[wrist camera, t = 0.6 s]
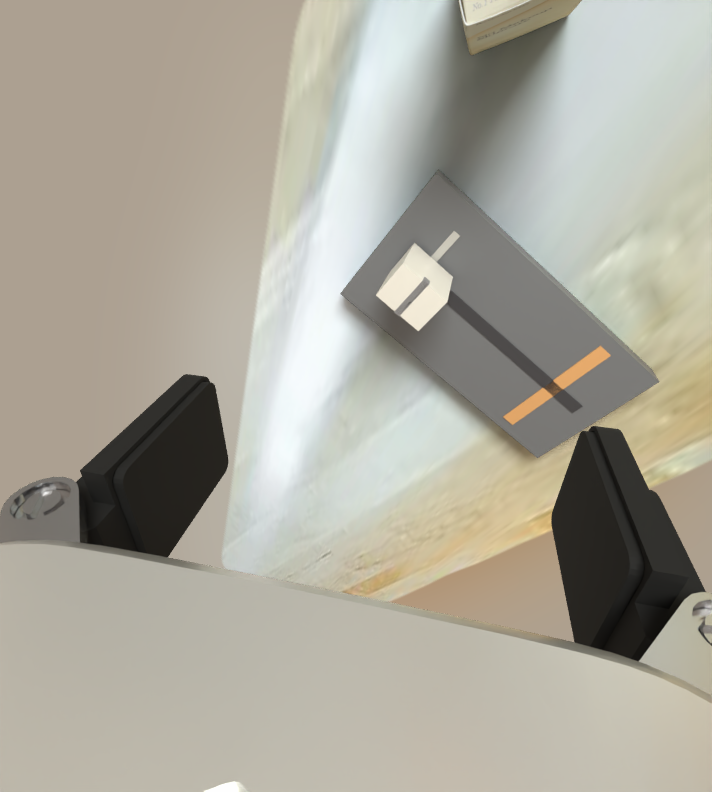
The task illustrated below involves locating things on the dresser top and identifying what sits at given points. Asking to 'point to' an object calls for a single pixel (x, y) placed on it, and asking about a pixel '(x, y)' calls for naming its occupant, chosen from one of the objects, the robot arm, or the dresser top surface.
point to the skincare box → (507, 19)
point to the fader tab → (416, 287)
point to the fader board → (502, 325)
